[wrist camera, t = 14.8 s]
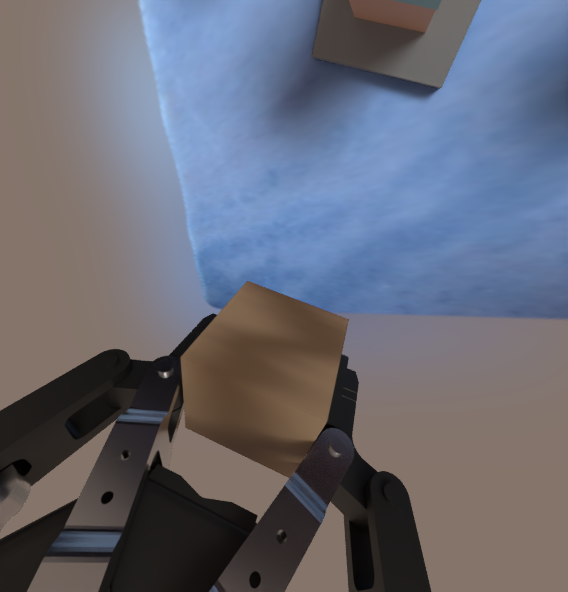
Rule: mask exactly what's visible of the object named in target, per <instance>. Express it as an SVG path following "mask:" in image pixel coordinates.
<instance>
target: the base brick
mask: <svg viewBox="0 0 568 592" xmlns="http://www.w3.org/2000/svg"><path fill="white" fill-rule="evenodd" d="M349 2H350V5H351V8H352V11H353V14H354V17H355V18H360V19H364V20H369V21H374V22H378V23H383V24H387V25H392V26H397V27H401V28H406V29H410V30H415V31H420V32H424V33H426V30H427V28H428V26H429V24H430V22H431V19H432V17H433V15H434V13H435V11H436V10H435V9H430V8H425V7H421V6H416V5H412V4H407V3H402V2H398V1H393V0H349Z"/></svg>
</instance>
